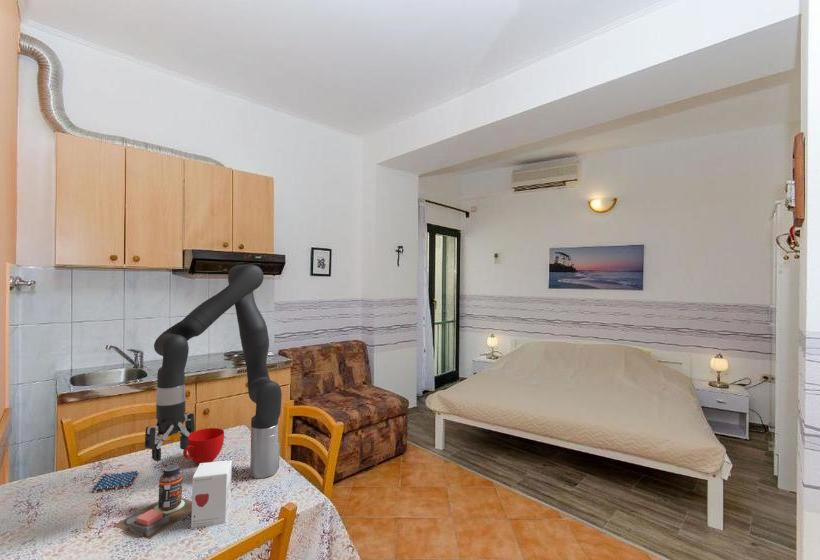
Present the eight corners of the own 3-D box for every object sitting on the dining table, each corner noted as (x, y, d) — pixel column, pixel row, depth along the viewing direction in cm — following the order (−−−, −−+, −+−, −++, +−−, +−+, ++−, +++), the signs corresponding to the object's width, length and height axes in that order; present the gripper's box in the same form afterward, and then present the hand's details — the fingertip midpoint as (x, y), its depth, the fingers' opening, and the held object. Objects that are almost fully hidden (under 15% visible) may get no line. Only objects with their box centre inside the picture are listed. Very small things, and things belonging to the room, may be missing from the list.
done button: (152, 516, 110) (152, 508, 110) (163, 519, 108) (163, 512, 108) (136, 525, 106) (136, 517, 106) (147, 528, 104) (147, 521, 104)
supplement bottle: (170, 512, 113) (171, 473, 113) (153, 510, 114) (154, 471, 115) (186, 501, 119) (187, 464, 119) (169, 499, 120) (170, 462, 120)
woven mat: (130, 489, 128) (130, 483, 128) (91, 495, 125) (91, 489, 125) (139, 475, 138) (139, 469, 138) (103, 480, 134) (103, 474, 134)
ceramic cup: (168, 470, 140) (169, 443, 140) (203, 451, 157) (203, 426, 157) (199, 475, 137) (199, 446, 138) (231, 455, 154) (231, 429, 154)
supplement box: (189, 532, 106) (191, 477, 107) (197, 513, 115) (198, 462, 115) (226, 526, 109) (227, 473, 109) (231, 508, 118) (232, 459, 118)
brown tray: (170, 497, 123) (170, 488, 123) (204, 508, 118) (204, 498, 118) (112, 529, 107) (112, 518, 107) (148, 542, 102) (149, 531, 102)
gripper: (156, 409, 109) (156, 467, 109) (200, 395, 122) (200, 447, 122) (138, 406, 111) (138, 462, 111) (183, 392, 125) (183, 443, 125)
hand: (170, 454), depth 117 cm, fingers open, 8 cm apart
